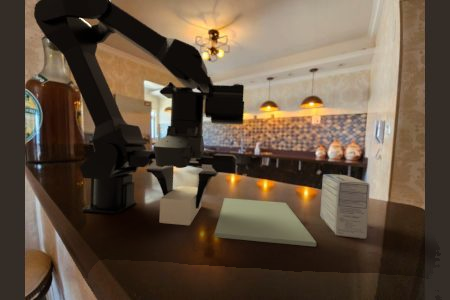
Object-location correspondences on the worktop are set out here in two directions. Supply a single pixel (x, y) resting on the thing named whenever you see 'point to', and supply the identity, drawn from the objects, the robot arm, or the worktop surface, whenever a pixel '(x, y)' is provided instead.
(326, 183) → the medicine box
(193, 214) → the block
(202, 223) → the worktop surface
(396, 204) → the worktop surface
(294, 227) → the mat
